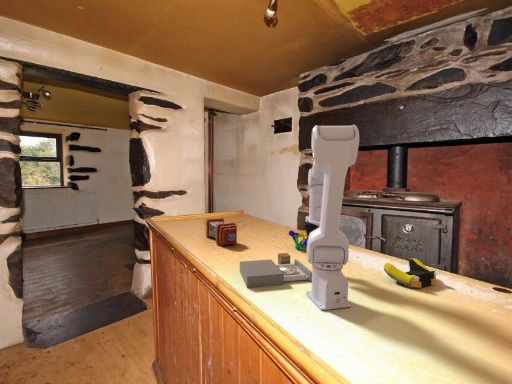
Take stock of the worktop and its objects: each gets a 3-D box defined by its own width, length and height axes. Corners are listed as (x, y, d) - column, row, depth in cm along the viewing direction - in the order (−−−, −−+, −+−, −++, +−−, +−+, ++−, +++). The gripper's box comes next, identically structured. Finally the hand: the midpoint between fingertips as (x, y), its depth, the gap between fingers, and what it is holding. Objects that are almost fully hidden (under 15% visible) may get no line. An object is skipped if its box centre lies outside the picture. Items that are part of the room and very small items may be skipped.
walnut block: (290, 265, 92) (290, 255, 92) (280, 266, 91) (281, 256, 91) (286, 262, 96) (287, 252, 95) (277, 262, 95) (278, 253, 95)
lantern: (202, 216, 136) (223, 227, 109) (219, 215, 140) (243, 225, 114) (202, 235, 137) (223, 250, 110) (219, 233, 141) (243, 247, 114)
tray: (313, 280, 79) (313, 272, 78) (278, 283, 76) (278, 275, 76) (297, 266, 91) (297, 259, 91) (266, 268, 88) (267, 261, 88)
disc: (299, 274, 81) (299, 270, 81) (282, 276, 80) (282, 271, 80) (292, 268, 87) (292, 264, 87) (276, 269, 85) (276, 265, 85)
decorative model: (330, 240, 112) (306, 235, 104) (322, 258, 113) (298, 255, 105) (310, 227, 123) (287, 222, 114) (303, 244, 124) (280, 240, 115)
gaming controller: (379, 279, 81) (409, 292, 72) (380, 262, 81) (410, 273, 72) (412, 272, 87) (443, 284, 78) (413, 256, 87) (444, 266, 78)
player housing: (283, 284, 76) (283, 273, 76) (247, 288, 74) (247, 276, 73) (271, 268, 89) (271, 259, 89) (239, 271, 86) (239, 261, 86)
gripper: (341, 209, 78) (340, 253, 79) (318, 203, 92) (317, 241, 93) (320, 209, 76) (319, 254, 77) (300, 204, 90) (299, 242, 91)
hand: (317, 247), depth 85 cm, fingers open, 7 cm apart
